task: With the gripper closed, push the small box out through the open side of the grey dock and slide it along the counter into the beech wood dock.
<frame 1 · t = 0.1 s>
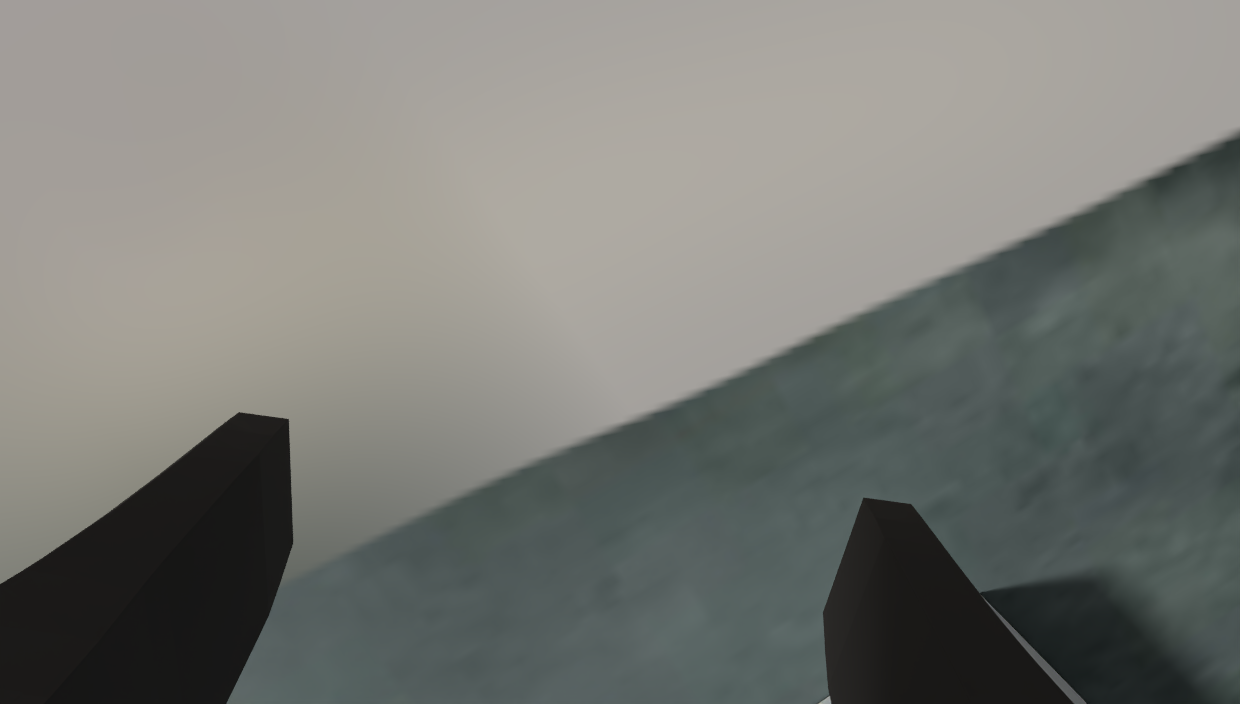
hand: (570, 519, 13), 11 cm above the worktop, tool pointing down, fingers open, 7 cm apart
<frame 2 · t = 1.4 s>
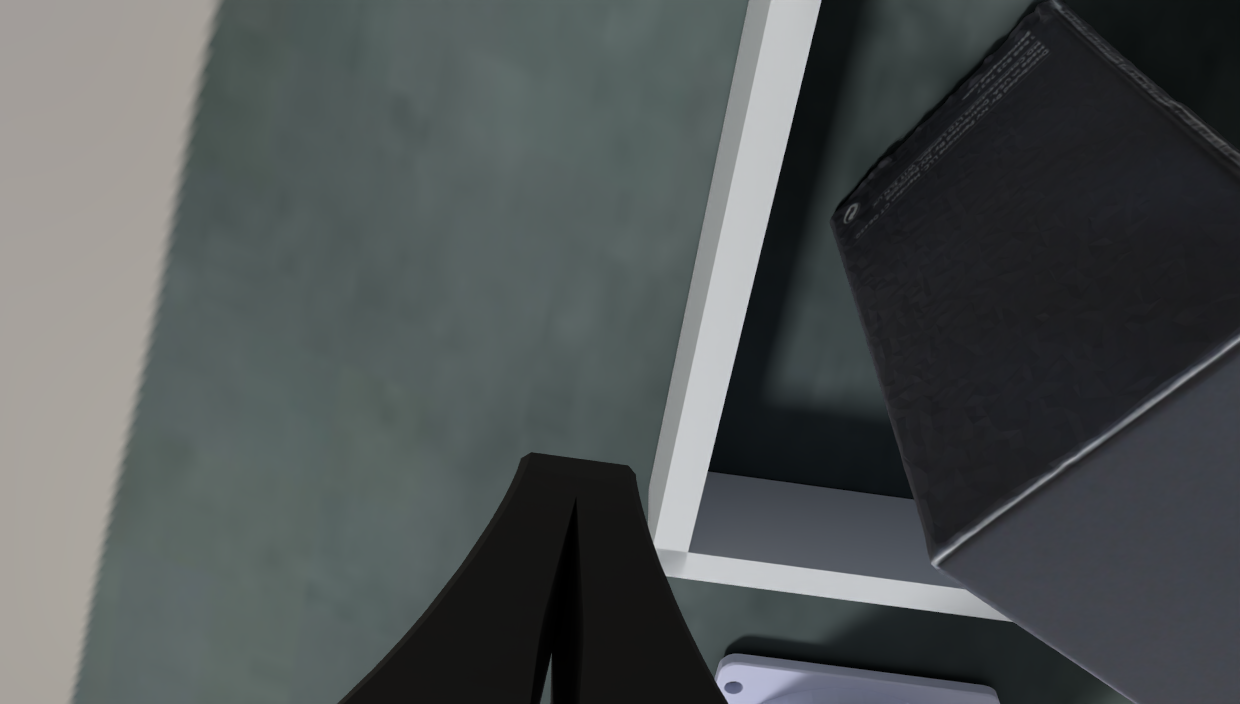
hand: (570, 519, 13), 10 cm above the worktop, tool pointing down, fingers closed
grey dock: (1067, 260, 22), on the worktop
small box: (1085, 258, 22), on the worktop
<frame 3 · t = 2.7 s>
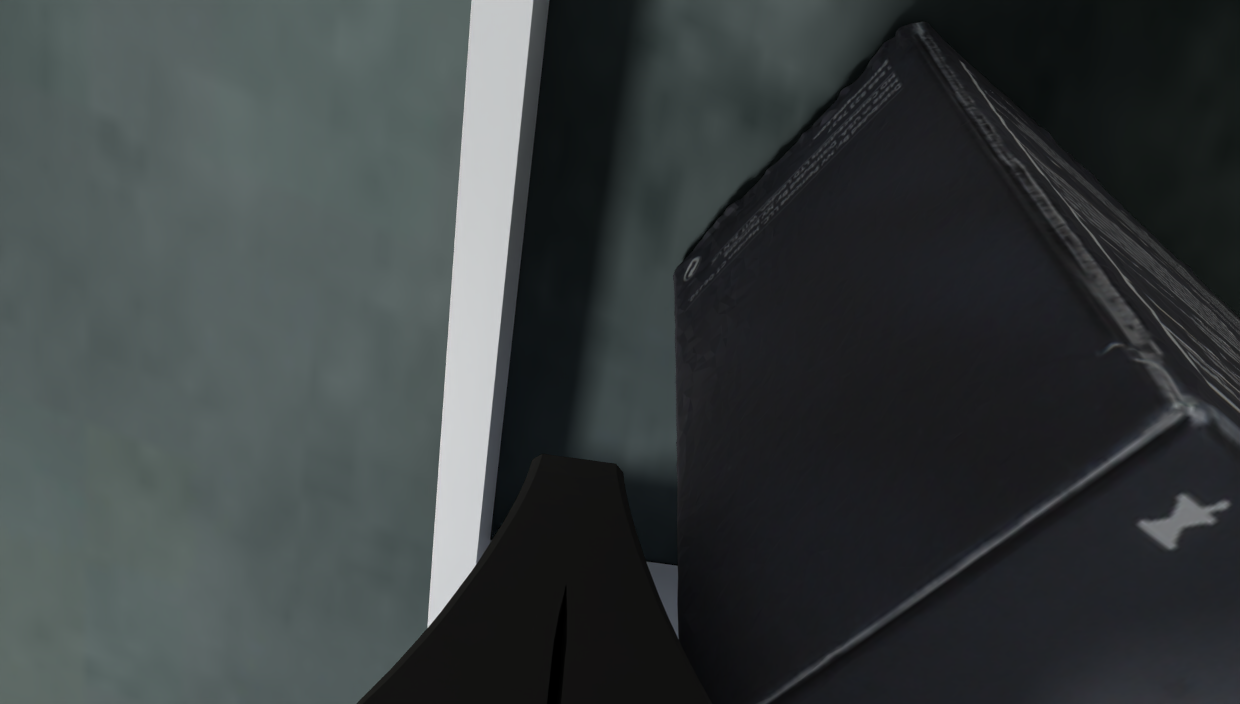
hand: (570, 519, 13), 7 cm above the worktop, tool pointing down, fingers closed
grey dock: (900, 314, 19), on the worktop
small box: (974, 319, 19), on the worktop, touching gripper
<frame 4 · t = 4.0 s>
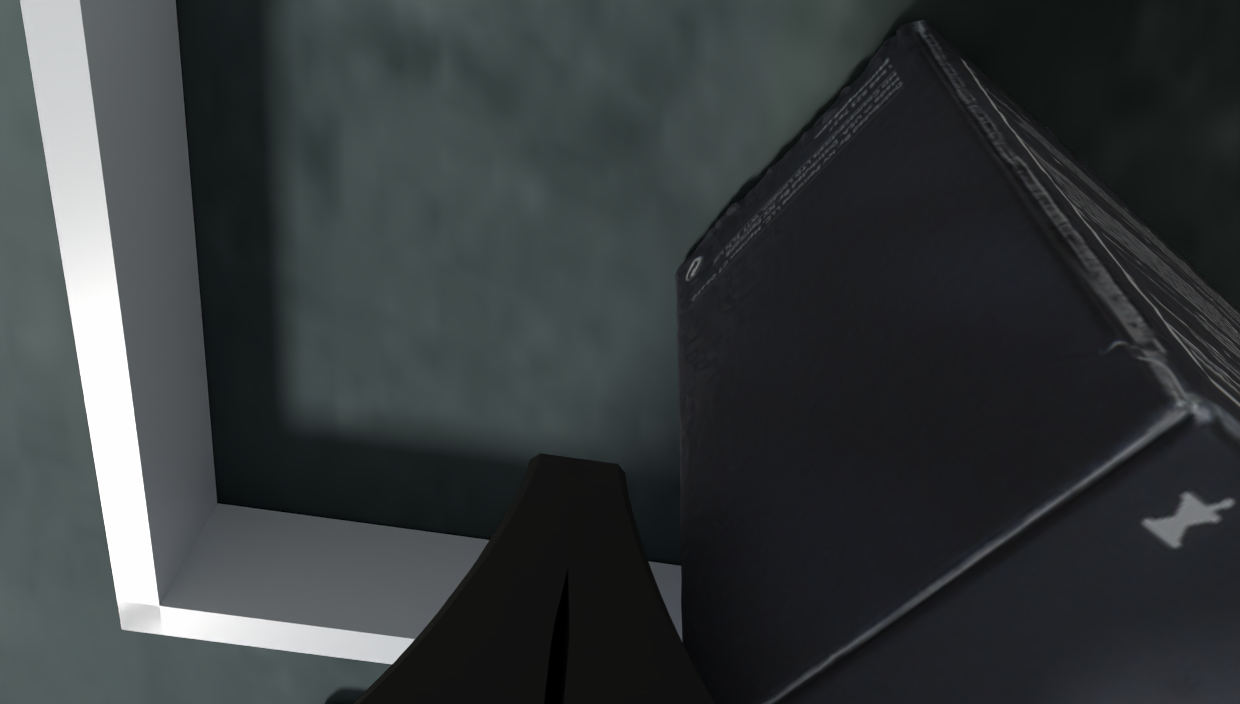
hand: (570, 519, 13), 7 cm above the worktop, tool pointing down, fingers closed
grey dock: (583, 265, 19), on the worktop
small box: (977, 317, 19), on the worktop, touching gripper
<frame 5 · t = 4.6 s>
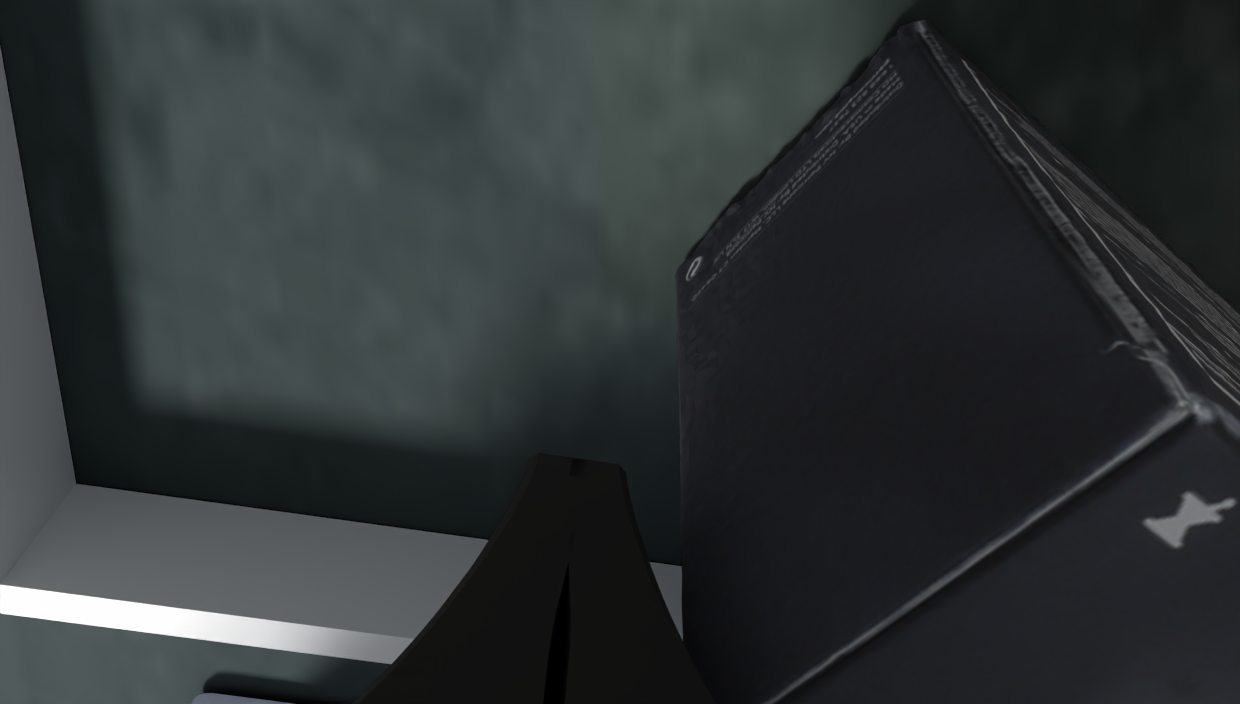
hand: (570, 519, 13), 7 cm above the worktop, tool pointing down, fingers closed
grey dock: (420, 241, 19), on the worktop
small box: (977, 318, 19), on the worktop, touching gripper
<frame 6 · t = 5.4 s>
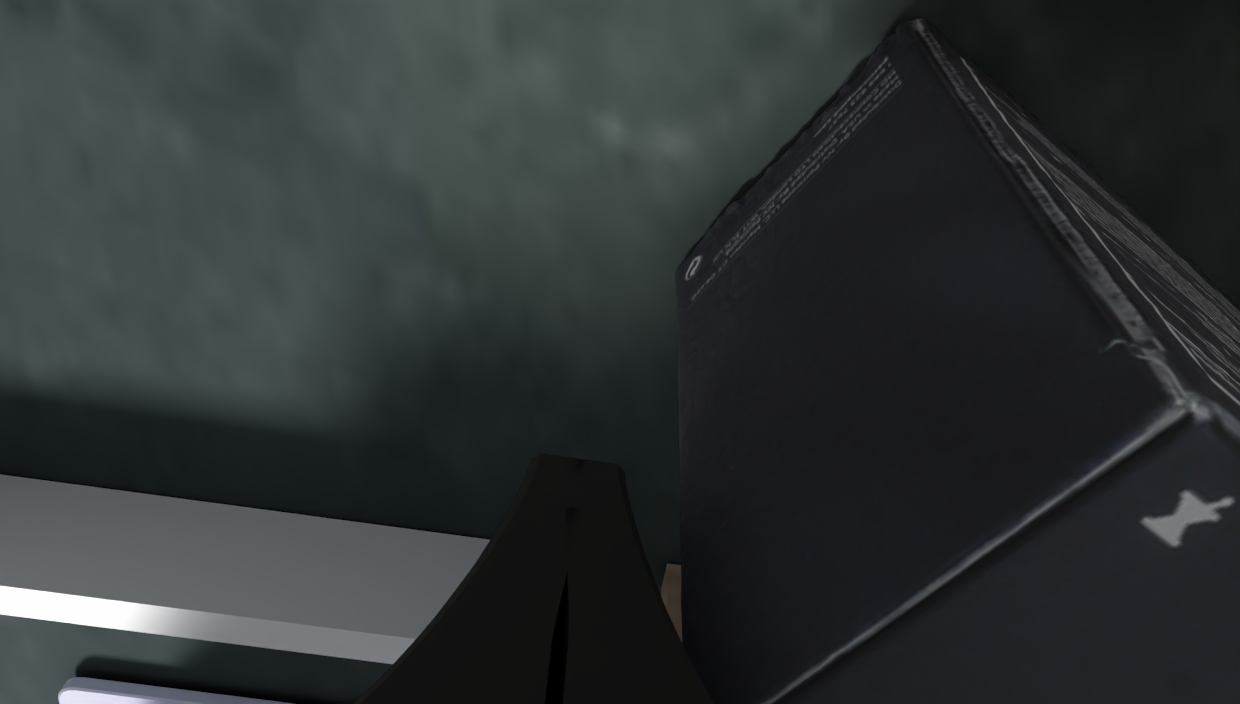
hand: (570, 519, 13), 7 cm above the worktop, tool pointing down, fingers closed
grey dock: (244, 215, 19), on the worktop
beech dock: (1026, 329, 19), on the worktop
small box: (977, 316, 19), on the worktop, touching gripper
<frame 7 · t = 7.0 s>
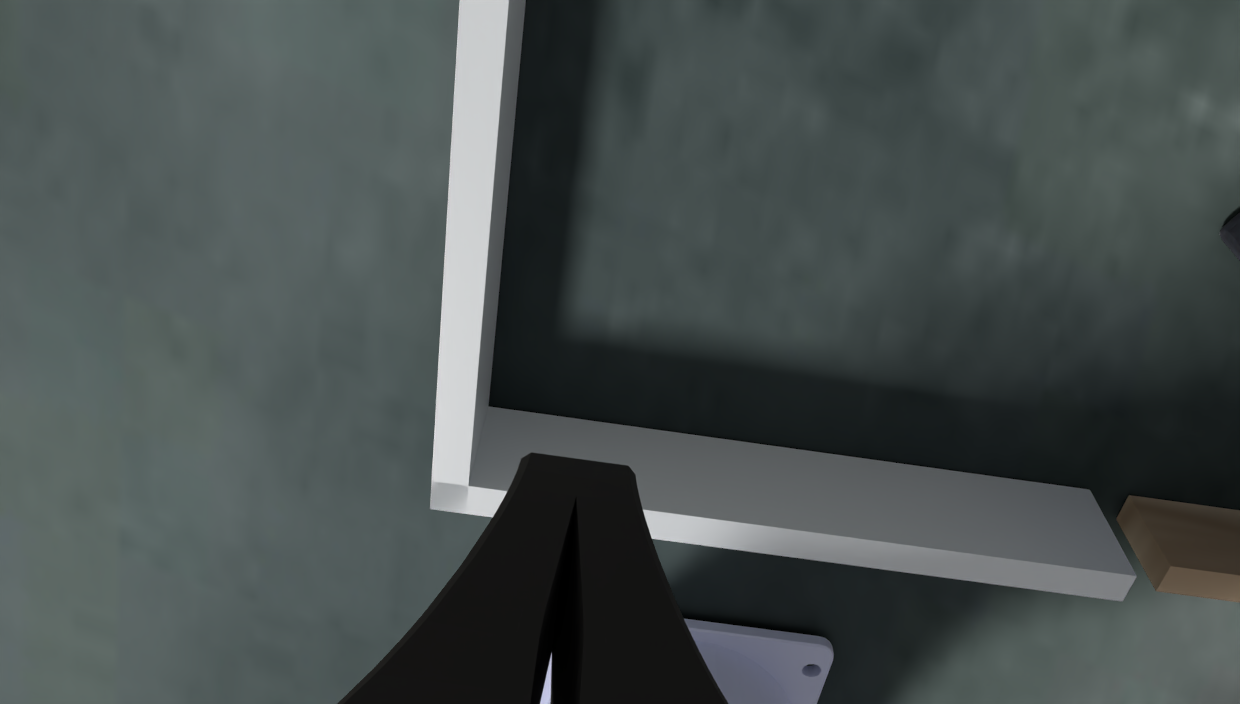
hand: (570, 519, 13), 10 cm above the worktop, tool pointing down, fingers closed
grey dock: (852, 182, 21), on the worktop
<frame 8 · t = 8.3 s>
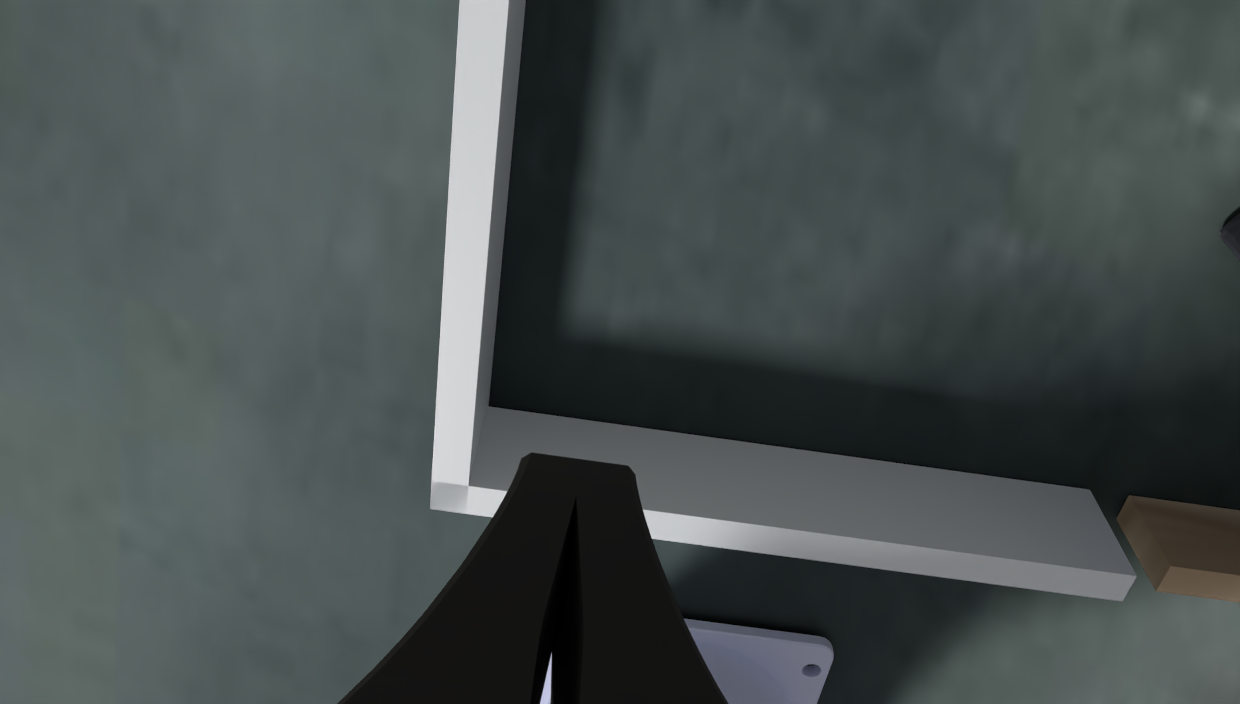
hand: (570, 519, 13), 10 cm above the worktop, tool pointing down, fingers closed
grey dock: (852, 182, 21), on the worktop
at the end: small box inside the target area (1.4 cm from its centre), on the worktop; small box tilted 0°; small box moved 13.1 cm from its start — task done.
